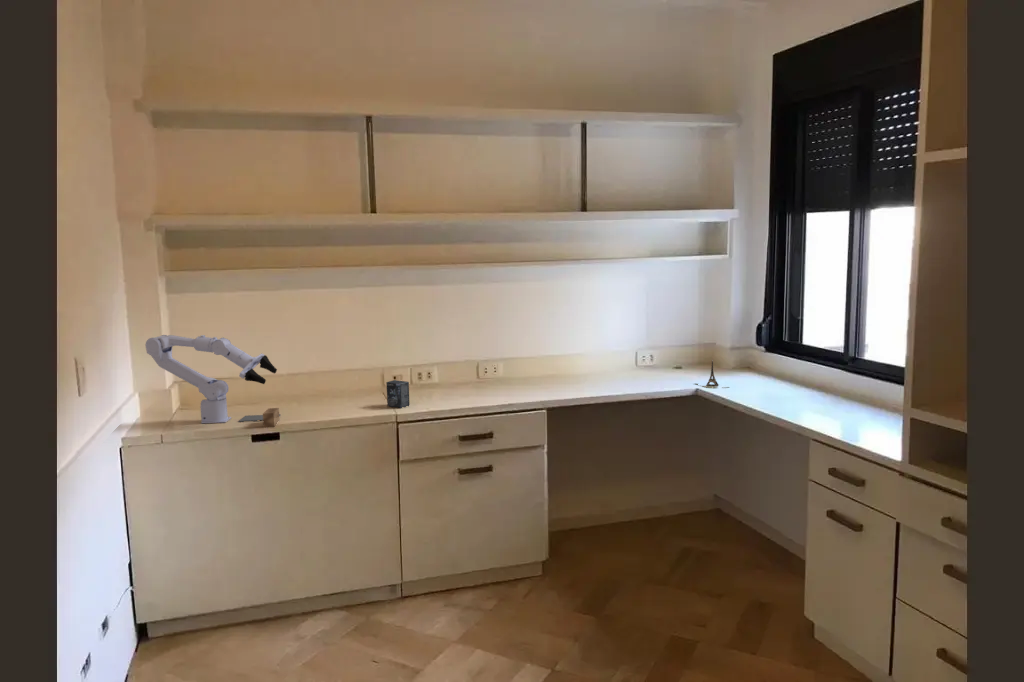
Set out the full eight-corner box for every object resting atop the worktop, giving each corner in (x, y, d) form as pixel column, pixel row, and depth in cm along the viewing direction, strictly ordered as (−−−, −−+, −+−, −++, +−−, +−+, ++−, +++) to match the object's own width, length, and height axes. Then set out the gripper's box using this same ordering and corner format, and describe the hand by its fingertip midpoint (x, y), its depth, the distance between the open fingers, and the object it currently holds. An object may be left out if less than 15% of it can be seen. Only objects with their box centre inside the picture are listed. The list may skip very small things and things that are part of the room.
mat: (239, 422, 299) (239, 420, 299) (245, 416, 308) (245, 415, 308) (275, 420, 300) (275, 419, 300) (280, 415, 309) (280, 414, 309)
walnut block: (263, 427, 290) (262, 413, 289) (269, 422, 298) (268, 408, 298) (274, 427, 290) (273, 413, 289) (279, 421, 299) (278, 407, 298)
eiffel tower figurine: (692, 384, 354) (692, 356, 353) (710, 383, 358) (710, 354, 356) (711, 390, 340) (711, 361, 339) (730, 388, 344) (730, 359, 342)
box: (387, 406, 321) (385, 382, 319) (396, 404, 325) (395, 379, 324) (401, 408, 316) (399, 383, 315) (410, 406, 321) (409, 381, 320)
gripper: (231, 361, 289) (262, 380, 289) (254, 342, 301) (283, 360, 301) (228, 373, 294) (258, 392, 294) (250, 354, 305) (278, 371, 305)
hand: (270, 376), depth 298 cm, fingers open, 7 cm apart
